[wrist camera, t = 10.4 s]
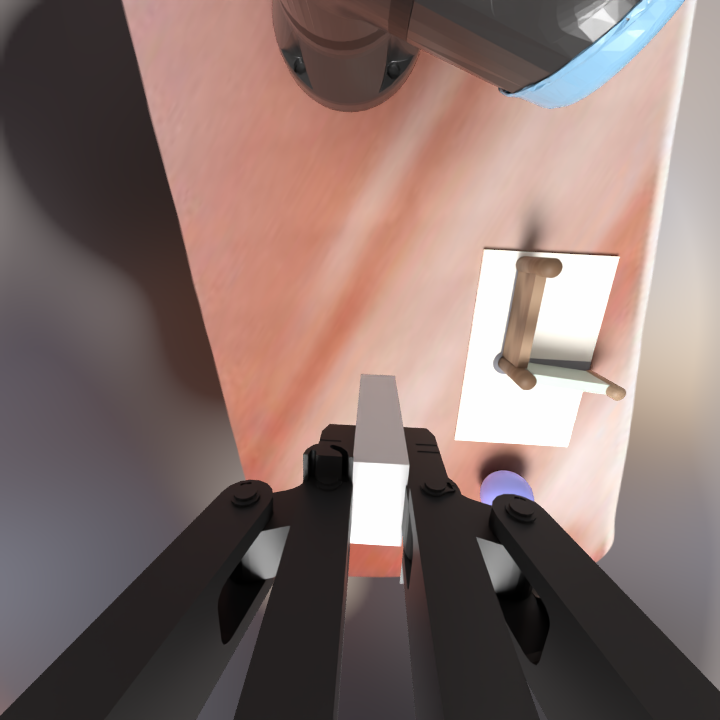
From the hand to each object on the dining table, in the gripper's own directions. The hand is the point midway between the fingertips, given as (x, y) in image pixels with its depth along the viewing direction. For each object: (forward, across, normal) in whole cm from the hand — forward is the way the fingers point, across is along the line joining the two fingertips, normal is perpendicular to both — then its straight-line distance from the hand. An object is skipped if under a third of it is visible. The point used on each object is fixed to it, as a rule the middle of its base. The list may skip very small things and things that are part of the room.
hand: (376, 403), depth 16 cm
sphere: (+31, +20, -26) cm, 45 cm away
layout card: (+30, +21, -6) cm, 37 cm away
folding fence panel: (+29, +24, -8) cm, 39 cm away
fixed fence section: (+30, +18, -1) cm, 35 cm away
